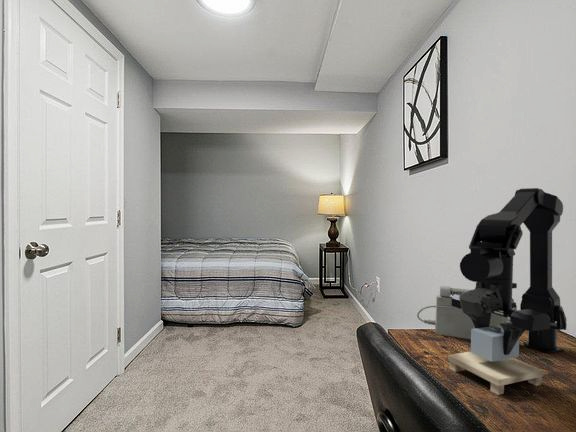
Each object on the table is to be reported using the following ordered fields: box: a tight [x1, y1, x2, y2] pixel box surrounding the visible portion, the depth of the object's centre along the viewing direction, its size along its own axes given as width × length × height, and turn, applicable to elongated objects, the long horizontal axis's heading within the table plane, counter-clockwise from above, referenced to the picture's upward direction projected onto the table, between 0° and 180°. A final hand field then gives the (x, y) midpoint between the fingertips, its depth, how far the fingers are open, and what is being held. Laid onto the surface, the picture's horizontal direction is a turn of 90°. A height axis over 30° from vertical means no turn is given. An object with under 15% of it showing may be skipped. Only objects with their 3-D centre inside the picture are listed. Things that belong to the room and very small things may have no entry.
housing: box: [470, 326, 520, 361], centre depth 73 cm, size 8×5×6 cm, turn 111°
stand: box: [447, 350, 544, 396], centre depth 73 cm, size 13×12×3 cm
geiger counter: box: [416, 285, 518, 340], centre depth 96 cm, size 14×6×25 cm
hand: (494, 349), depth 73 cm, fingers closed on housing, 5 cm apart
